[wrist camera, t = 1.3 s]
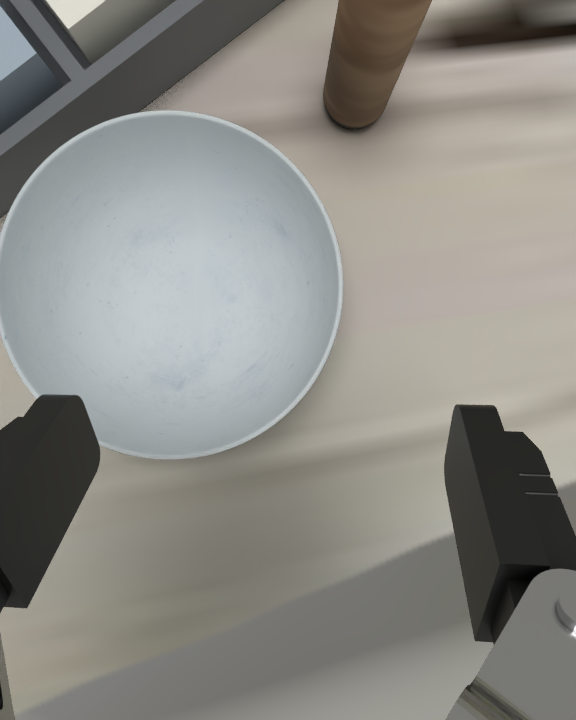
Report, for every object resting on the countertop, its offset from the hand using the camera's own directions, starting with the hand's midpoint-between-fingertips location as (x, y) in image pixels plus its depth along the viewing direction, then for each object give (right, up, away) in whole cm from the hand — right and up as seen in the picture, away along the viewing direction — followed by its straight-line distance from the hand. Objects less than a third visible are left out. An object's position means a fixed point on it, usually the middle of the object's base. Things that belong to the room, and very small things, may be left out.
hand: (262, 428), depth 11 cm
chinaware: (-5, +5, +19) cm, 20 cm away
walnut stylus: (+4, +16, +19) cm, 25 cm away
